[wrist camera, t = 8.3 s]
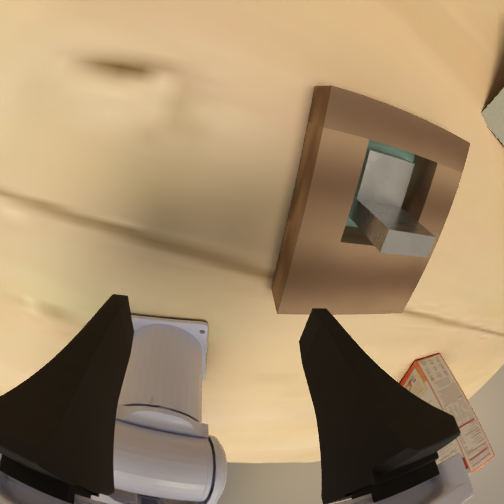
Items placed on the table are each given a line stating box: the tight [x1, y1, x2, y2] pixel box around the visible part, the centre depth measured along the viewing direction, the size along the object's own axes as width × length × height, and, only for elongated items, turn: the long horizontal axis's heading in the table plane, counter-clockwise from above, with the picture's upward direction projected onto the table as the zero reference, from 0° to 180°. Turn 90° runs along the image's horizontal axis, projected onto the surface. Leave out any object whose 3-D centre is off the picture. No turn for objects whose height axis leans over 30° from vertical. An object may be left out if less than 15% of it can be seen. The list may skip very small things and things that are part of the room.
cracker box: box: [400, 353, 494, 475], centre depth 29 cm, size 14×6×21 cm, turn 179°
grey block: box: [349, 148, 436, 257], centre depth 17 cm, size 5×4×6 cm
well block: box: [272, 86, 470, 315], centre depth 19 cm, size 16×12×3 cm
